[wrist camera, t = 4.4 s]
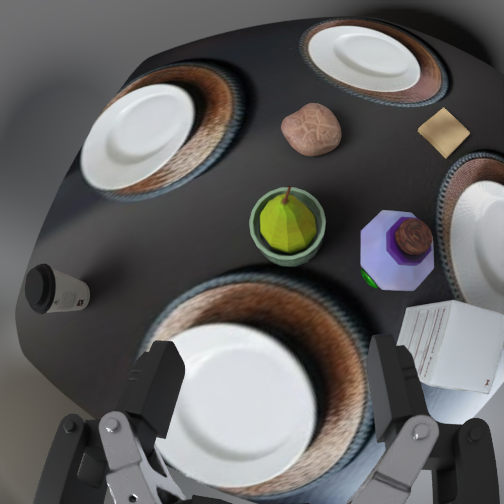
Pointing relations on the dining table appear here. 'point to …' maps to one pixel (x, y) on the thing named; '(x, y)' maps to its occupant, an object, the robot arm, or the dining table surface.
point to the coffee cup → (54, 291)
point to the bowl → (280, 256)
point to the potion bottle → (396, 251)
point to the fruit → (287, 223)
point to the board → (444, 132)
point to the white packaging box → (454, 344)
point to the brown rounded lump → (312, 130)
